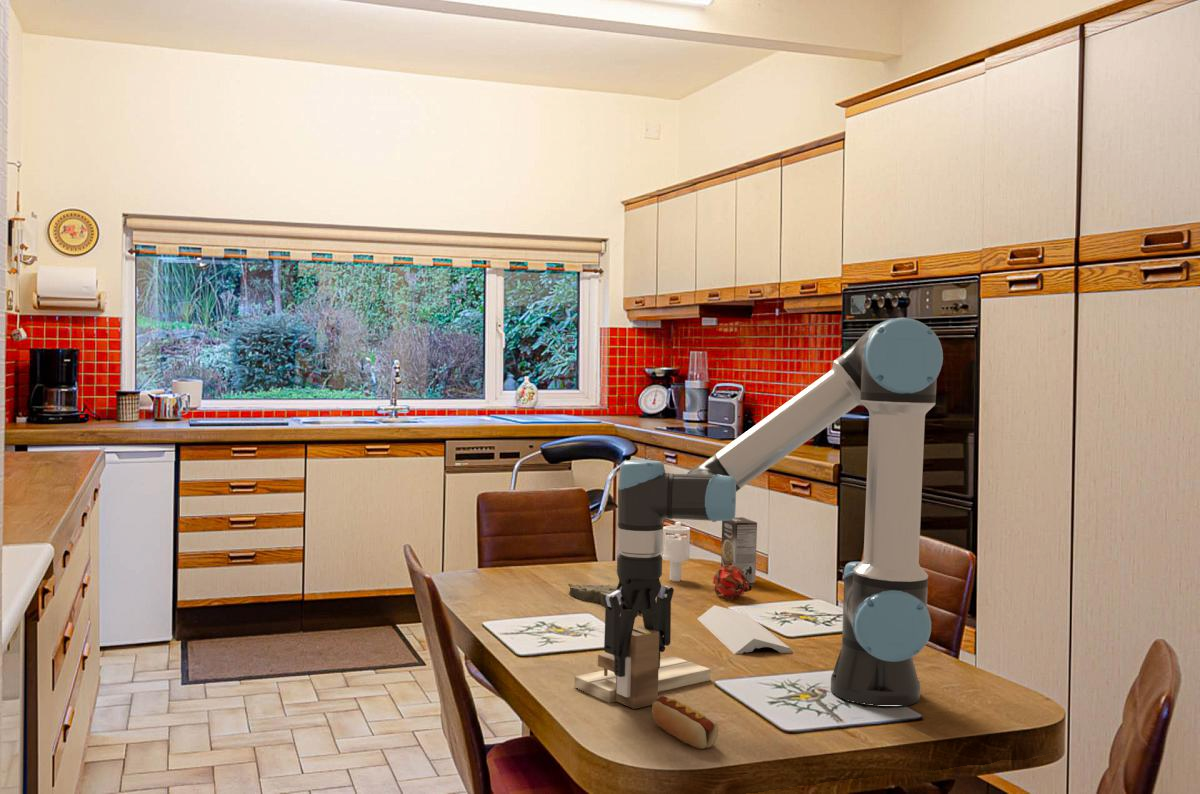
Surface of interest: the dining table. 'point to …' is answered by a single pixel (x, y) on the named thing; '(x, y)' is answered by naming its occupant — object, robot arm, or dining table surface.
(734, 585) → the dragon fruit
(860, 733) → the dining table surface
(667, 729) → the food
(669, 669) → the board
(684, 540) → the white stepped cylinder
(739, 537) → the coffee box
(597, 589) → the stone slab
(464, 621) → the dining table surface
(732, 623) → the crown molding
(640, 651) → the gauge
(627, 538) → the robot arm
